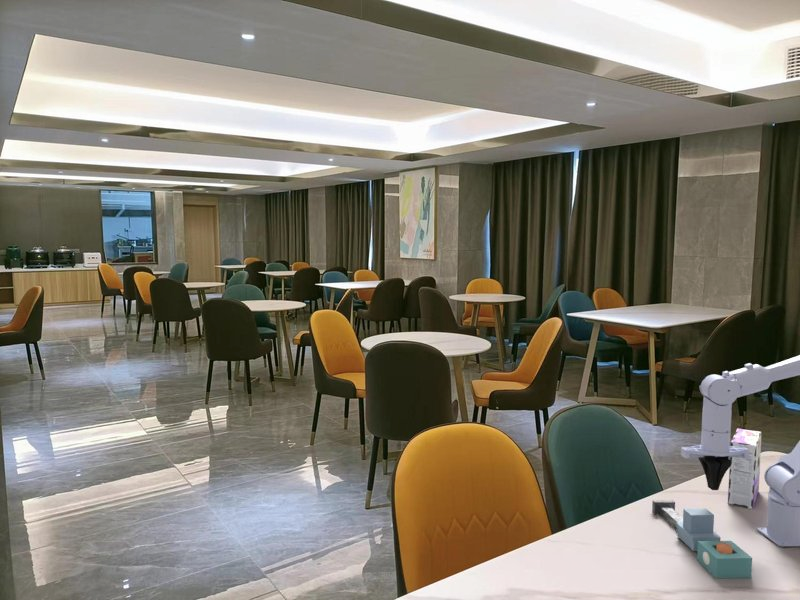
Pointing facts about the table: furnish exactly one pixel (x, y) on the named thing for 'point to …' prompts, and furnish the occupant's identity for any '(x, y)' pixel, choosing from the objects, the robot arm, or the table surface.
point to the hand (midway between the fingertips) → (713, 488)
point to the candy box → (745, 469)
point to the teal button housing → (724, 560)
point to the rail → (667, 511)
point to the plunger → (724, 548)
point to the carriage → (696, 527)
